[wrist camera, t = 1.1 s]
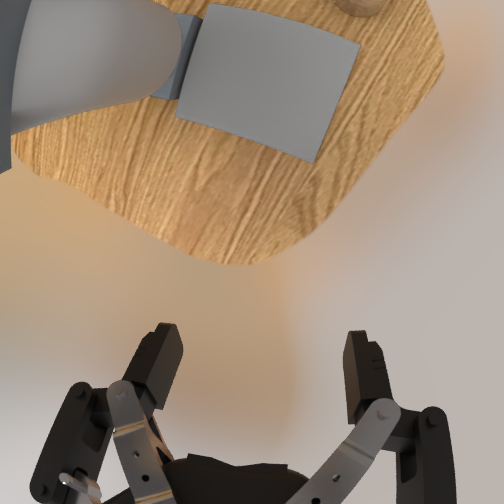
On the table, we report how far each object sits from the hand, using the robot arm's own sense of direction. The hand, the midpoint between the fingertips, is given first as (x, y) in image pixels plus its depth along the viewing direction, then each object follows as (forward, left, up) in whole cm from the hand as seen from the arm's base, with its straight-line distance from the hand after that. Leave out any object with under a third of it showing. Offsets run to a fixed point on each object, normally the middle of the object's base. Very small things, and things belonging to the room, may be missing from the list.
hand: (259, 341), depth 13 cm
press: (-11, -5, -22) cm, 25 cm away
